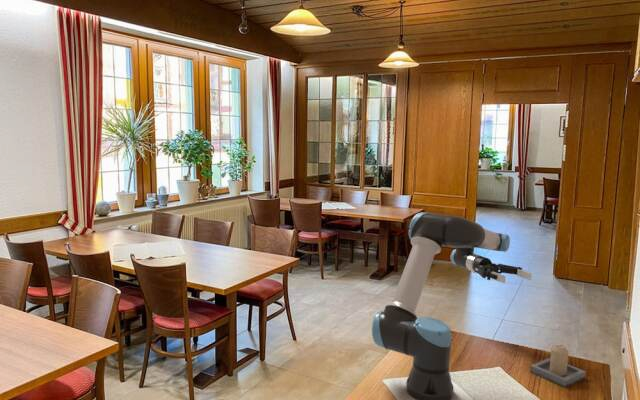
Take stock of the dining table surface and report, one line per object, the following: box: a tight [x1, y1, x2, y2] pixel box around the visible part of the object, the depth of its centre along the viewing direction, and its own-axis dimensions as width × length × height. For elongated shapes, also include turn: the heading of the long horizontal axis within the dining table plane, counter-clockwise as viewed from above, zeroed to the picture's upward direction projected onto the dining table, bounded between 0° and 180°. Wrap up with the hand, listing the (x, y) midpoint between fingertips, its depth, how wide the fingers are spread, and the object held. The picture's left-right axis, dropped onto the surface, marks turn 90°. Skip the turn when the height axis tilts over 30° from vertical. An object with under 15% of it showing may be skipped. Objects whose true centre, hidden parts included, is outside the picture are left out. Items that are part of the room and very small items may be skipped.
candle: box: [549, 344, 569, 376], centre depth 172 cm, size 6×6×10 cm
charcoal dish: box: [529, 356, 587, 389], centre depth 173 cm, size 13×13×2 cm
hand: (517, 278), depth 188 cm, fingers open, 13 cm apart
